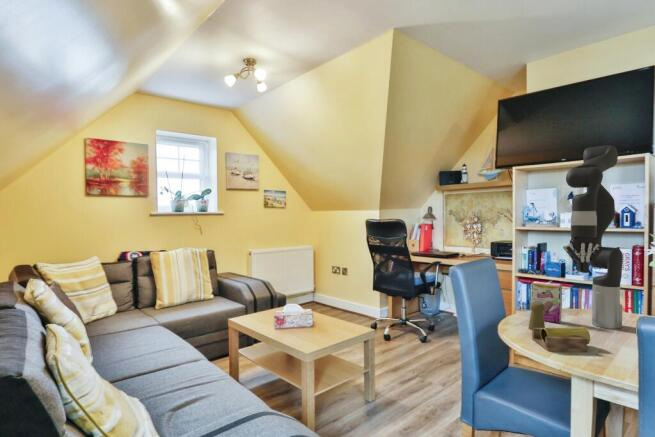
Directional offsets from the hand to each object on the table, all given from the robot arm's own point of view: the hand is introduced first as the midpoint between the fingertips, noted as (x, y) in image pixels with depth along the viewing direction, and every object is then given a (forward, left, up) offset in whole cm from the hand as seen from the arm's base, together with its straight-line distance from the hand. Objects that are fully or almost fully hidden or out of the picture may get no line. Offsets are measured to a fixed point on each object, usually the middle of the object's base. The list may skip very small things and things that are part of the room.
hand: (582, 272), depth 129 cm
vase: (-1, 0, -23) cm, 23 cm away
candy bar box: (-3, -31, -27) cm, 41 cm away
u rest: (+8, 0, -27) cm, 28 cm away
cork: (+7, -18, -27) cm, 33 cm away
